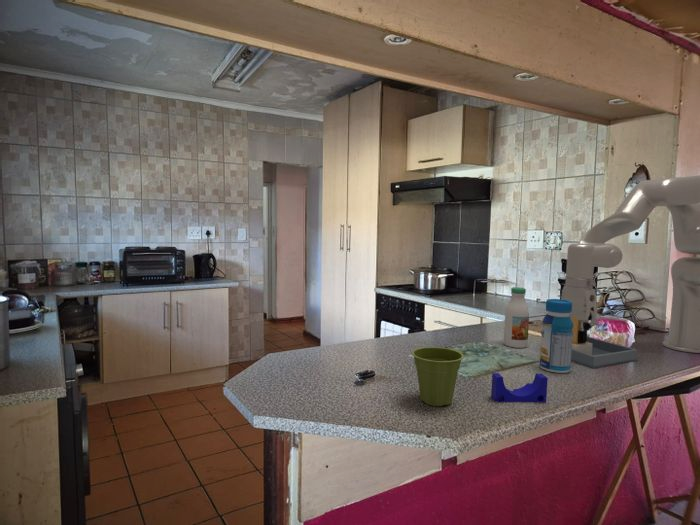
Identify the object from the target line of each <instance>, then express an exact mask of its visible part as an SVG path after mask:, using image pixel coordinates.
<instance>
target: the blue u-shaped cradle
mask: <svg viewBox="0 0 700 525" xmlns="http://www.w3.org/2000/svg"><path fill="white" fill-rule="evenodd" d="M548 379H549V378H548V377H547V376H546V375H544V374H543V373H540V372H539V373H535V374H534V379H533V381H532V382H531V383H530V382H527V383H526V384H524V385H523V386H522V387H518V388H513V389H512V390H513V391H512V390H510V389H508V388H507V387H506V385H505V383H504V377H503V376H502V375H501V374H500V373H499V372H492V374H491V388H490V389H491V391H490V392H491V394H490V398H492V399H493V401H494V402H495V403H547V394H548Z"/></svg>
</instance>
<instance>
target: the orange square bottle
mask: <svg viewBox="0 0 700 525" xmlns="http://www.w3.org/2000/svg"><path fill="white" fill-rule="evenodd" d="M571 319H572V321H573V325H574V327H573V328H572V331H573V340H572V344H576V345H578V344H585V343H578V331H579V330H580V324H579V320H578V318H574V317H571ZM584 325H585V324H584Z"/></svg>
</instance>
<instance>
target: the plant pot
mask: <svg viewBox="0 0 700 525" xmlns="http://www.w3.org/2000/svg"><path fill="white" fill-rule="evenodd" d="M411 355H412V356H413V359H414V364H415V368H416V373H417V374H416V375H417V381H418V389H419V390H418V391H419V395H420V400H421V402H424V403H425V404H426V405H428V406H434V407H442V406H445V405H446V406H449V405H451V404H452V402H453V399H454V393H455V388H456V384H457V377H458V373H459V369H460V368H461V363H462V360H463V359H464V357H465V356H464V354H463V353H462V352H461V351H459V350H457V349H453V348H447V347H440V346H439V347H436V346H429V347H428V346H426V347H420V348H419V347H418V348H415V349H413V350H412V351H411Z"/></svg>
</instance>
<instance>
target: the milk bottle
mask: <svg viewBox="0 0 700 525" xmlns="http://www.w3.org/2000/svg"><path fill="white" fill-rule="evenodd" d="M510 290H511V291H510V292H511V293H510V294H511V298H510V300H509V302H508V304H507V306H506V308H505V315H504V328H503V329H504V330H503V345H505V346H507V347H508V348H509V347H510V348H514V349H515V348H516V349H524V348H527V347H528V342H529V325H530V324H529V323H530V311H529V306H528V305H527V302H526V298H525V296H526V292H527V290H526V288H525V287H518V286H517V287H511V289H510Z"/></svg>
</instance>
